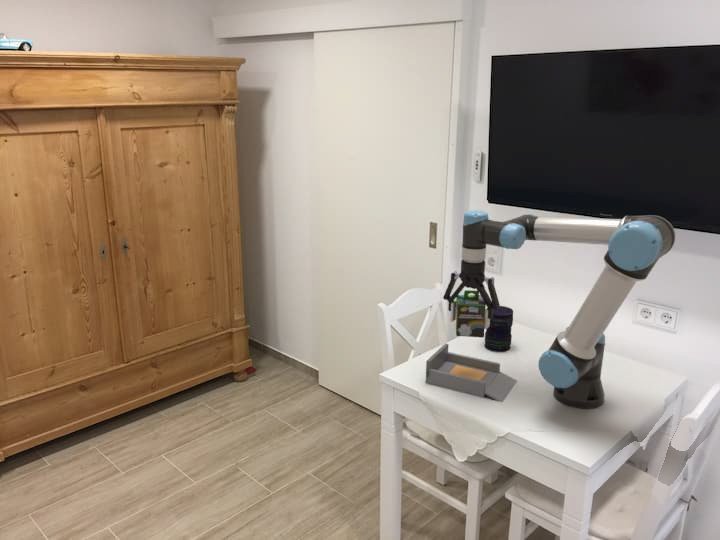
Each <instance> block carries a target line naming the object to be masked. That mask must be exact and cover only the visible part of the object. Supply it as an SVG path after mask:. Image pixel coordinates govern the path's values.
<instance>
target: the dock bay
mask: <svg viewBox="0 0 720 540" xmlns="http://www.w3.org/2000/svg"><path fill="white" fill-rule="evenodd" d="M425 364H426V365H425V367H426V369H425V384H428V383H429V384H428V385H432V384H433V386H436V387H437V386H438V387H440V388H444V389H445V388H446V389H448V390H453V391H457V392H460V393H463V394H464V393H465V394H469V395H473V396H477V397H481V398H485V396H487V397H489V398H490V399H494V401H496V402H499V403H503V402H504V400H505V399H506V398H507V396H508V395H509V394H510V391H512V389H513V388H514V386H515V385H516V383H517V381H518V380H516V379H515V378H513V377H511V376H509V375H507V374H506V373H503V372H501V363H500V362H495V361H493V360H492V361H491V360H487V359H482V358H477V357H472V356H468V355H464V354H459V353H456V352H450V351H449V343H444V344H443V345H442V346H441V347H440V348H439V349H437V351H435V352H434V353H433V354H432V355H431V356H430V357H428V359H427V360H426V363H425Z"/></svg>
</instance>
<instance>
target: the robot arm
mask: <svg viewBox="0 0 720 540" xmlns="http://www.w3.org/2000/svg"><path fill="white" fill-rule="evenodd" d="M525 241H538V242H539V241H541V242H542V241H543V242H555V243H556V242H558V243H571V244H587V245H590V244H591V245H604V246H607V247H608V248H607V251H606V253H605V255H604V256H603V261H604V264H605V266H604V268H603V269H602V271H601V273H600V275H599V276H598V278H597V280H596V282H595V283H594V284H593V286H592V288H591V290H590V291H589V293H588V294H587V296H586V298H585V299H584V301H583V303H582V304H581V306H580V307H579V310H578V311H577V313H576V314H575V316H574V318H573V319H572V321H571V323H570V325H569V326H567V327H566V328H565V330H563V331H560V332H559V333H558V334H557V335H556V337H555V339H554V341H553V342H552V344H551V346H550V347H549V349H548V350H546V351H544V352H543V353H542V354H541V356H539V357H540V358H539V359H538V370H539V373H540V375H541V376H542V378H543V379H544V381H545V382H547V383H548V384H549V385H551V386H552V387H553V393H552V394H553V397H554V398H555V399H557V401H558V402H560V403H562V404H564V405H567V406H570V407H573V408H578V409H594V408H597V407H600V406H602V405H603V404H604V400H605V391H604V387H603V382H602V378H601V375H602V369H603V368H602V367H603V360H604V353H605V352H604V351H605V346H606V335H605V334H604V333H605V331H606V329H608V327H609V325H610V323H611V322H612V320H613V318H614V317H615V315H617V313H618V310H619V309H620V308H621V307H622V305H623V304H624V302H625V300H626V299H627V297H628V295H629V294H630V293H631V290H632V289H633V287H634V286H635V284H637V282H641V281H645V280H646V279H647V278H648V276H649V275H650V273H651V272H652V270H653V269H654V267H655V266H656V265H657V264H656V263H657V262H658V261H659V259H660V258H662V257H663V256H665V255H667V254H668V253H669V252H670V251H671V250H672V248H673V246H674V245H675V242H676V232H675V228H674V227H673V225H672V223H670V221H668V220H667V219H666V218H664V217H663V216H659V215H655V214H654V215H653V214H652V215H651V214H648V215H625V216H624V217H623V218H597V217H596V218H595V217H570V216H569V217H565V216H563V217H561V216H537V215H535V214H531V213H530V214H529V213H528V214H522V215H520V216H518V217H517V216H516V217H515V218H510V219H508V220H505V221H497V220H493V219H489V213H488V212H486V211H483V210H468V211H466V212H464V215H463V222H462V243H461V256H460V257H461V261H460V272H457V271H456V270H455V271H453V272H451V273H450V281H449V283H448V286H447V288H446V289H445V292H444V295H443V297H442V298H443V300H445V301H447V302H448V306H447V307H448V311H449V312H450V322H451V323H453V322H455V321H456V300H455V299H457V296H458V295H460V293H461V292H462V291H463V290H464V288H469V289H470V288H471V289H472V290H476V291H478V292H479V295H481V297H482V298H483V300H484V302H485V304H486V309H485V326H484V330H486V329H487V328H488V327H489V325H490V319H491V318H492V317H493V309H497V308H498V307H499V306H501V305H500V301H499V297H498V294H497V291H496V288H495V278H494V277H493V276H492V277H486V275H485V271H486V261H485V260H486V256H487V255H486V254H487V253H486V252H487V245H489V246H494V247H500V248H504V249H506V250H518V249H521V248H522V246H523V245H524V243H525ZM458 279H460V280H461V283H460V284H459V285H458V287H457V288H456V290H455V291H454V292H453V289H454V287H455V284H456V282H457V280H458ZM484 282H485V283H486V285H487V289H488V292H487V290H486V287H485V285H484ZM452 292H453V293H452ZM488 293H489V294H488ZM451 294H452V295H451ZM489 295H490V296H489Z"/></svg>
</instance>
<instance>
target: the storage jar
mask: <svg viewBox="0 0 720 540" xmlns="http://www.w3.org/2000/svg"><path fill="white" fill-rule="evenodd" d="M513 321H514V309H513V308H511V307H508V306H504V305H500V306H499V307H498V308H497V309H493V317H492V318H491V319H490V325H489V327H488V328H487V329H485V331H484V348H485V349H487V351H491V352H493V353H506V351H507V352H509V351H510V350H511V348H512V347H511V346H512V338H513V336H512V326H513V324H514V322H513Z"/></svg>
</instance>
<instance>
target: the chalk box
mask: <svg viewBox="0 0 720 540" xmlns="http://www.w3.org/2000/svg"><path fill="white" fill-rule="evenodd" d="M455 299H456V300H455V301H456V319H455V335H456V337H465V338H466V337H468V338H469V337H470V338H481V339H482V338H485V329H484V326H485V310H486V309H487V306H486V304H485V302H484V300H483V298H482V297H481V295H480V293H479V292H478V291H477V290H473V289H472V290H470V289H469V290H467V289H466V290H464V292H463V294H458V296H457V297H456V298H455Z"/></svg>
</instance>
